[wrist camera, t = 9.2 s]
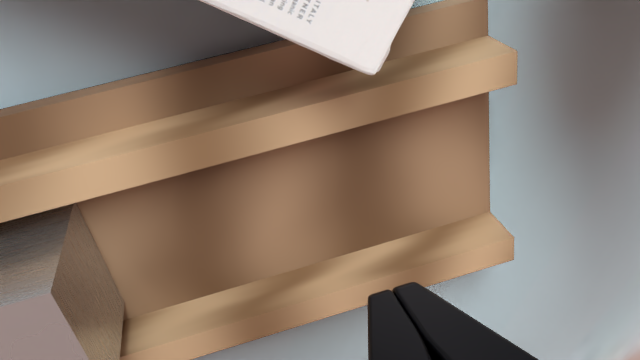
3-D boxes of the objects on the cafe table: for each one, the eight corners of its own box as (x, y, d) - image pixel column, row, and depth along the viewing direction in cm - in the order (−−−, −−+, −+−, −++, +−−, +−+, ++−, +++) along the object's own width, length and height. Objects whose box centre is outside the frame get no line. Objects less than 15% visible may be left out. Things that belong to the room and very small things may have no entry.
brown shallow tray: (476, -8, 20) (535, 16, 17) (482, 246, 27) (525, 299, 23) (-196, 157, 18) (-275, 222, 14) (-13, 397, 24) (-41, 480, 21)
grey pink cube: (74, 200, 20) (50, 292, 15) (124, 302, 22) (115, 405, 18) (-74, 239, 19) (-142, 347, 15) (-5, 340, 22) (-45, 456, 17)
